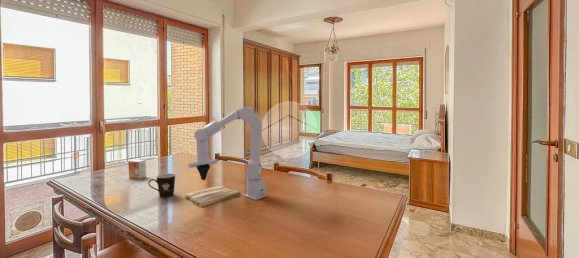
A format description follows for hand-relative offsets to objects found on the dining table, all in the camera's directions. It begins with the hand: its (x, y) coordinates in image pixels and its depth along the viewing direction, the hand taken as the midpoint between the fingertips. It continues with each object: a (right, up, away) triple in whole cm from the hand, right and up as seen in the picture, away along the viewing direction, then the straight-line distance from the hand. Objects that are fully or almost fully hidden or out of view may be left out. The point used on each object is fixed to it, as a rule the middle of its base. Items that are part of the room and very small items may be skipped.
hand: (203, 179), depth 146 cm
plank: (+2, -7, 0) cm, 8 cm away
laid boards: (+9, -8, -6) cm, 14 cm away
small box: (-50, -5, +33) cm, 60 cm away
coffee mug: (-20, -8, -1) cm, 21 cm away
